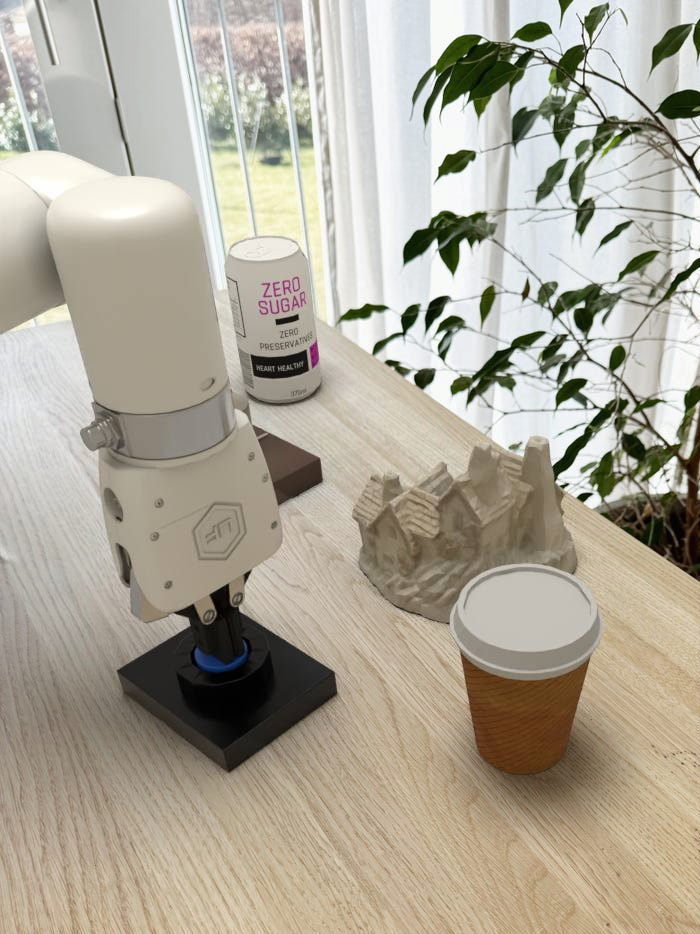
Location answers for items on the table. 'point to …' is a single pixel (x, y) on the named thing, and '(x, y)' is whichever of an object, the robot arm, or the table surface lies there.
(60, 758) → the table surface
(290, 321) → the white soda can
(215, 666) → the light button
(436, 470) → the ceramic cottage
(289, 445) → the panel
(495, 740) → the disposable coffee cup
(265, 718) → the switch block
